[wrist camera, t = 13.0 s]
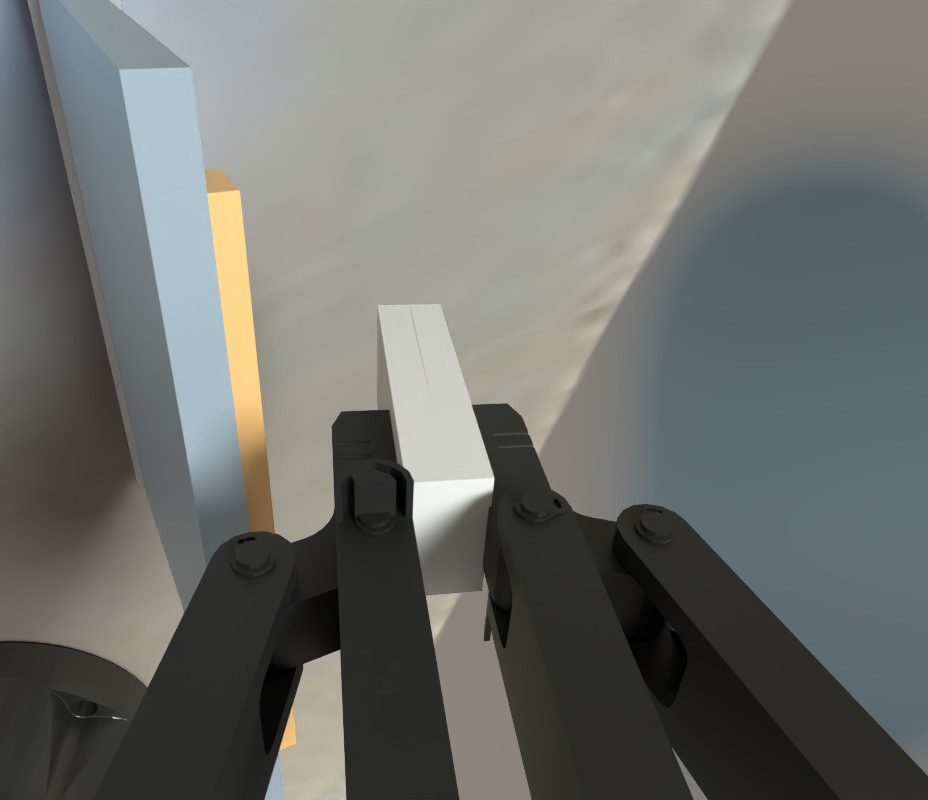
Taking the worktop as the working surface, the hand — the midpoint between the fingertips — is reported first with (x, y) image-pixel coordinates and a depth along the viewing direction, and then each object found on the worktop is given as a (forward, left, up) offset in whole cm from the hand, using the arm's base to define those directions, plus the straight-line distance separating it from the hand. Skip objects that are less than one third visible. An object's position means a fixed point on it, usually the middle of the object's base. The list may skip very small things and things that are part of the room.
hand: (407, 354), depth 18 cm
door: (-3, +7, -4) cm, 9 cm away
